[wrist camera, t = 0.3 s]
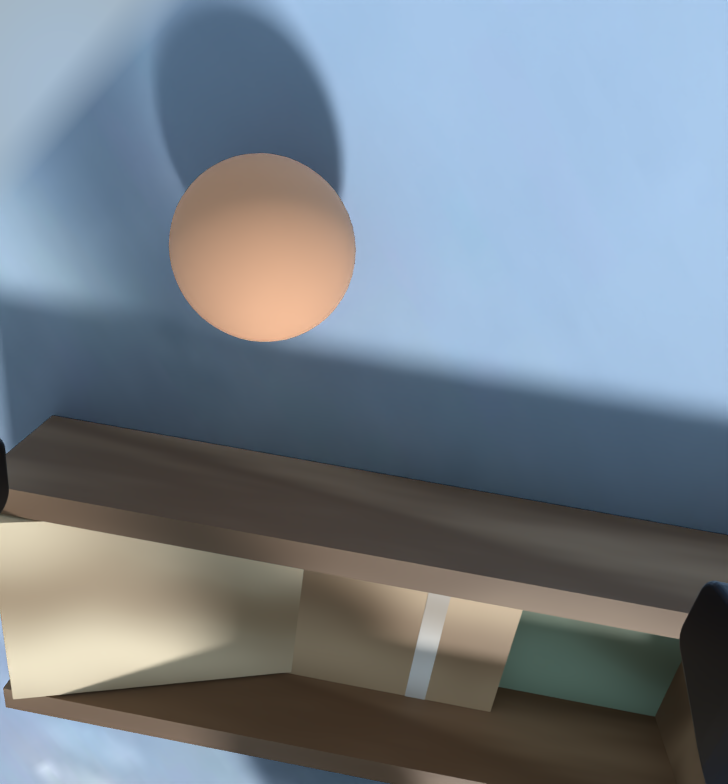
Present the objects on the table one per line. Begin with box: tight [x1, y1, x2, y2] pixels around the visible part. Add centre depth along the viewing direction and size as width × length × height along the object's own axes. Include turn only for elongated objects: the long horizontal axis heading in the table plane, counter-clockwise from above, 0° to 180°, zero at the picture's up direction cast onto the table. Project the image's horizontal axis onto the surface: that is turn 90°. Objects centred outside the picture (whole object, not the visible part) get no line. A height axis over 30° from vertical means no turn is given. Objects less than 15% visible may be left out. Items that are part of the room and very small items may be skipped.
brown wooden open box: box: [0, 415, 728, 784], centre depth 23 cm, size 10×26×5 cm, turn 82°
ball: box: [169, 153, 356, 342], centre depth 18 cm, size 5×5×5 cm
